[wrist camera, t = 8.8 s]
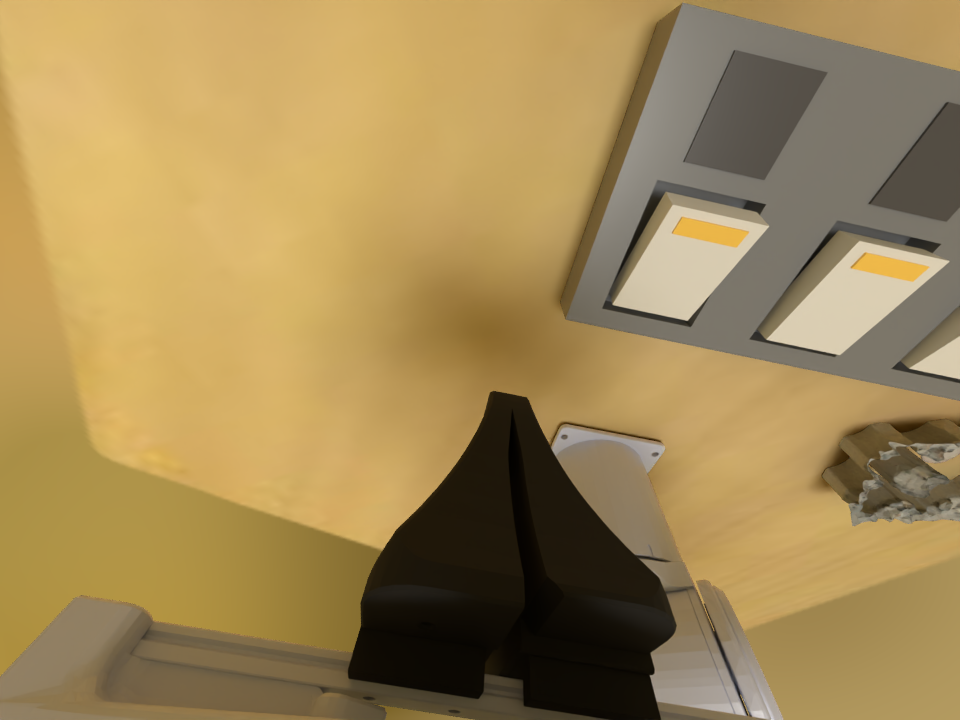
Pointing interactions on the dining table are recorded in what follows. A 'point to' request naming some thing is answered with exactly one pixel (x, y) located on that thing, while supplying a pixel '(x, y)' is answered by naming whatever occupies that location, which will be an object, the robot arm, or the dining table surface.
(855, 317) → the rocker middle
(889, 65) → the grey rocker switch panel
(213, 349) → the dining table surface
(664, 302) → the labelled cream tile
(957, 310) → the rocker carton end
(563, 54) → the dining table surface
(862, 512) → the egg carton
